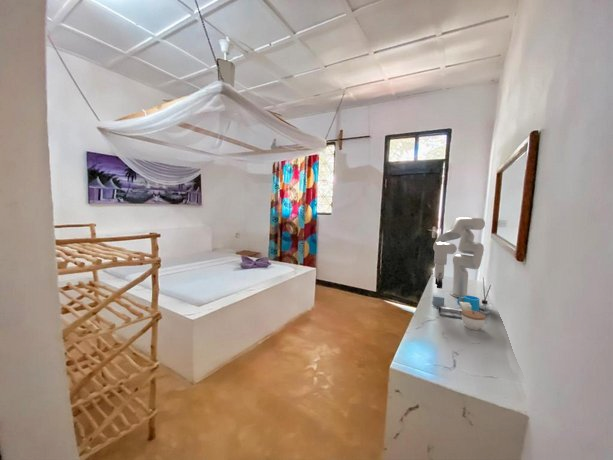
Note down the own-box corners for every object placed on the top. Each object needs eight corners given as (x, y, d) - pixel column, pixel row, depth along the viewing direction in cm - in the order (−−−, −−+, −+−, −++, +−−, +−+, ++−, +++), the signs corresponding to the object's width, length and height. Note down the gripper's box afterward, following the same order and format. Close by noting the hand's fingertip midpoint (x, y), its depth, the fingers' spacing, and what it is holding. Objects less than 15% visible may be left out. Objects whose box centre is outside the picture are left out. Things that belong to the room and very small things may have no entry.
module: (432, 301, 171) (432, 293, 170) (442, 303, 168) (443, 295, 168) (433, 305, 164) (433, 296, 164) (444, 306, 162) (444, 298, 161)
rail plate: (437, 307, 161) (437, 296, 161) (469, 311, 154) (469, 300, 154) (439, 315, 148) (440, 304, 148) (474, 320, 141) (475, 308, 141)
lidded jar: (488, 333, 127) (489, 315, 126) (465, 330, 129) (467, 314, 128) (478, 323, 137) (479, 307, 137) (457, 322, 140) (458, 306, 139)
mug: (478, 309, 158) (479, 297, 158) (478, 313, 152) (479, 301, 151) (457, 305, 165) (457, 293, 165) (456, 309, 159) (457, 296, 158)
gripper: (432, 259, 173) (431, 282, 174) (435, 263, 157) (433, 288, 159) (444, 260, 170) (443, 283, 171) (448, 264, 154) (446, 290, 156)
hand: (438, 286), depth 165 cm, fingers open, 9 cm apart
